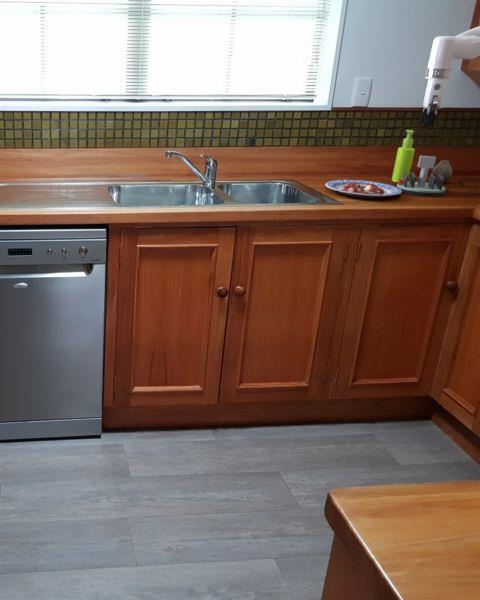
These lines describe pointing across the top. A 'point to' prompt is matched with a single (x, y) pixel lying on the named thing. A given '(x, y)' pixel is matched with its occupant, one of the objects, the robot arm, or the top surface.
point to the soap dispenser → (404, 158)
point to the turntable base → (423, 193)
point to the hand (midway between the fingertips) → (426, 125)
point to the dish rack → (423, 178)
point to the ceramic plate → (363, 188)
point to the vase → (443, 171)
